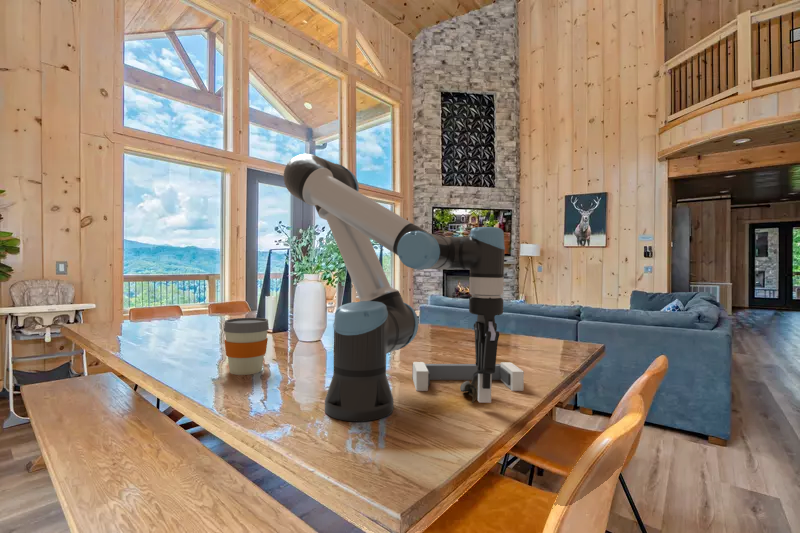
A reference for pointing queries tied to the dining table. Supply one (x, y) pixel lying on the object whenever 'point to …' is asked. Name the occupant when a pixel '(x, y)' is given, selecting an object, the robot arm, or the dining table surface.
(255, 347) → the reusable coffee cup
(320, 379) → the dining table surface
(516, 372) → the rail
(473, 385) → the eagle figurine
